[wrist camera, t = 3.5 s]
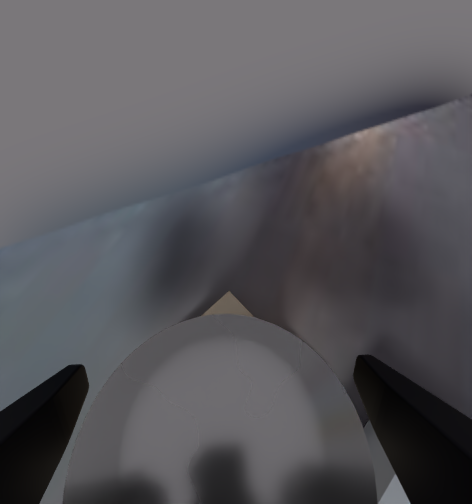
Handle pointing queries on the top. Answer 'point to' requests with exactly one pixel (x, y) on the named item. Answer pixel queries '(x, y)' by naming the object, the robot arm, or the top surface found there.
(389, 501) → the tray
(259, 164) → the top surface
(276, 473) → the grey piece
